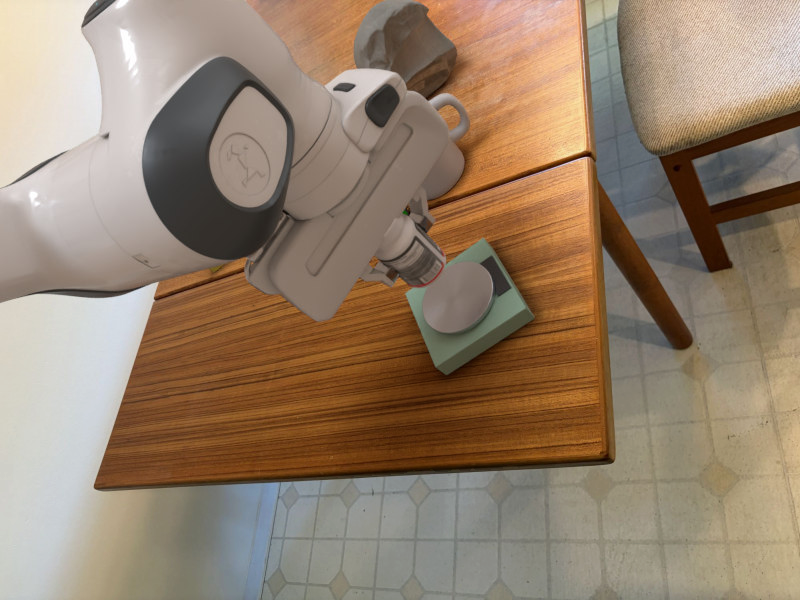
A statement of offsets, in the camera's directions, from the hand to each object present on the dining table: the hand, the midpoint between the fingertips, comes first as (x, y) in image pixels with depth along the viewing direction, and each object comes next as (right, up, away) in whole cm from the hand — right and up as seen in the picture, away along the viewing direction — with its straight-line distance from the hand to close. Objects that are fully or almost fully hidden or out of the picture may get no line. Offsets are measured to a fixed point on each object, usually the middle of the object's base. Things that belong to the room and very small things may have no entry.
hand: (409, 252), depth 52 cm
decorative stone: (+2, +29, +34) cm, 45 cm away
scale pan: (+5, -4, +7) cm, 10 cm away
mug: (+6, +13, +22) cm, 26 cm away
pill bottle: (+2, -1, +2) cm, 3 cm away
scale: (+7, -5, +9) cm, 13 cm away
